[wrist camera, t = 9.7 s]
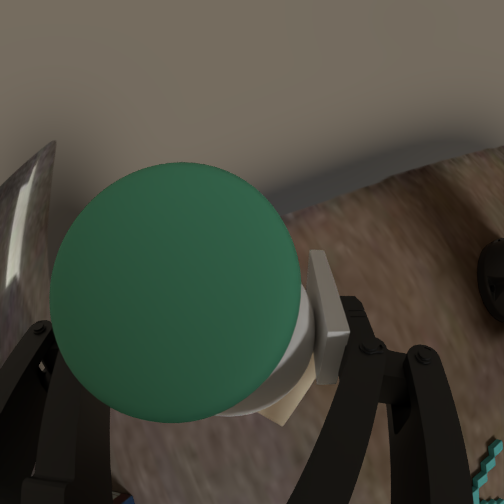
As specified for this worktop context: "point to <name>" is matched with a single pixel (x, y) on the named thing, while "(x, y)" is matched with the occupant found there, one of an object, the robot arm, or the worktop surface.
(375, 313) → the worktop surface
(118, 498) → the protein box
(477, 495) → the alien figure
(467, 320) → the worktop surface
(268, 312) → the milk bottle
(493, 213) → the worktop surface
